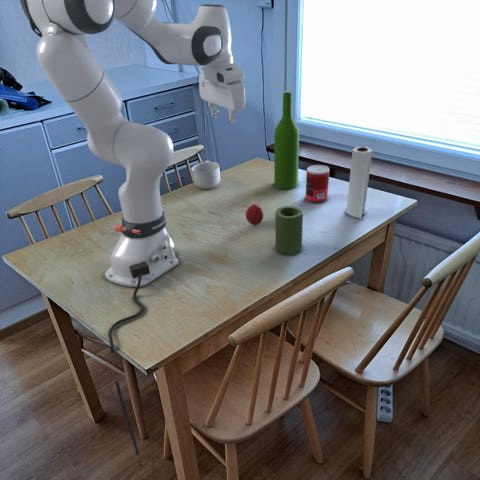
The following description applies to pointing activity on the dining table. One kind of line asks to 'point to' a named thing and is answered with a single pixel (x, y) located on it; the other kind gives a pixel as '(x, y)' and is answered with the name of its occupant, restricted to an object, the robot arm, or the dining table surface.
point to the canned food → (317, 183)
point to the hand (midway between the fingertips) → (223, 119)
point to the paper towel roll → (358, 181)
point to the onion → (254, 214)
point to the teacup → (206, 174)
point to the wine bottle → (286, 148)
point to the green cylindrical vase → (289, 230)
